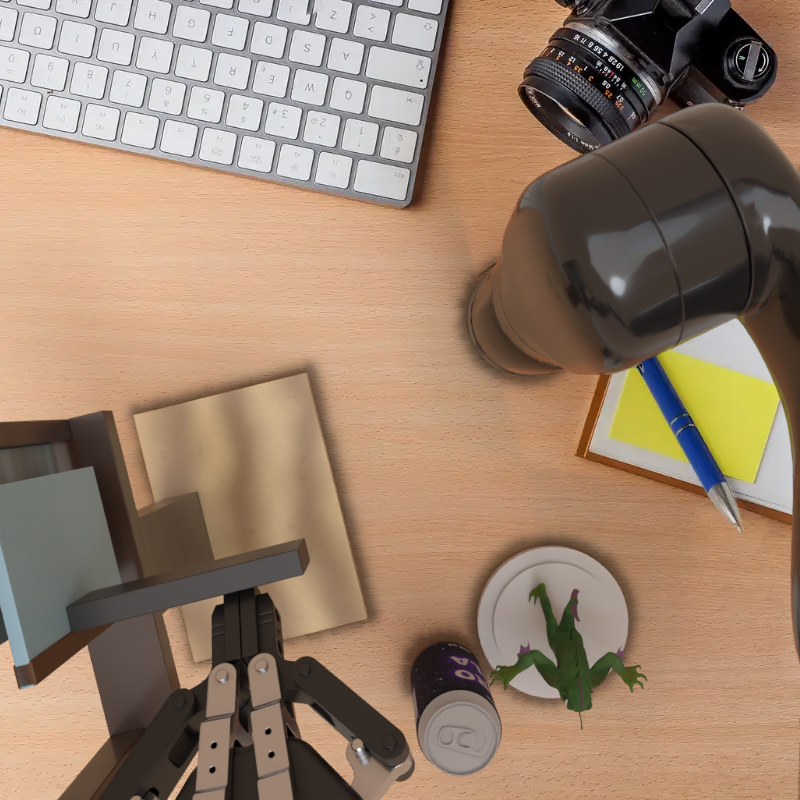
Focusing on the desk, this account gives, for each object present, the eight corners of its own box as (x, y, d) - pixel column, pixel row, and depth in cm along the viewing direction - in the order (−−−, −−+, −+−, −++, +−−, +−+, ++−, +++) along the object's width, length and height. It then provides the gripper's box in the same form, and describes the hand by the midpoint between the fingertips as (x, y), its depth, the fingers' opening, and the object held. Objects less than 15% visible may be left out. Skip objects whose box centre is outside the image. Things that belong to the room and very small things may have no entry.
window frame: (184, 408, 61) (-73, 412, 27) (242, 644, 60) (59, 945, 27) (134, 421, 60) (-186, 440, 27) (192, 656, 60) (-55, 975, 27)
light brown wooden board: (308, 372, 62) (306, 372, 61) (368, 614, 62) (367, 619, 61) (137, 414, 62) (132, 415, 60) (197, 658, 62) (194, 663, 60)
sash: (286, 417, 41) (249, 422, 30) (322, 562, 41) (298, 619, 30) (80, 469, 41) (-32, 491, 30) (116, 614, 41) (17, 690, 30)
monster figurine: (475, 694, 62) (493, 751, 52) (477, 544, 62) (495, 572, 52) (624, 694, 62) (671, 751, 52) (625, 545, 62) (672, 573, 52)
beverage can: (475, 712, 62) (499, 787, 50) (405, 704, 62) (412, 777, 50) (484, 642, 62) (510, 700, 50) (414, 634, 62) (423, 690, 50)
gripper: (111, 1138, 26) (139, 666, 39) (487, 1038, 26) (396, 601, 39) (-6, 1134, 21) (70, 588, 33) (466, 1009, 21) (368, 513, 33)
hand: (246, 595), depth 36 cm, fingers closed
